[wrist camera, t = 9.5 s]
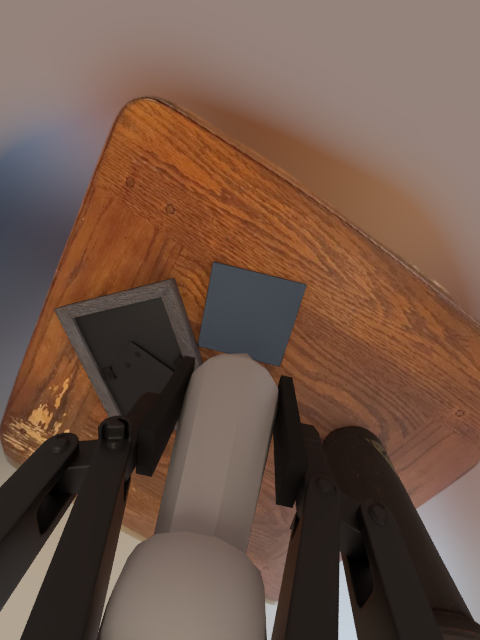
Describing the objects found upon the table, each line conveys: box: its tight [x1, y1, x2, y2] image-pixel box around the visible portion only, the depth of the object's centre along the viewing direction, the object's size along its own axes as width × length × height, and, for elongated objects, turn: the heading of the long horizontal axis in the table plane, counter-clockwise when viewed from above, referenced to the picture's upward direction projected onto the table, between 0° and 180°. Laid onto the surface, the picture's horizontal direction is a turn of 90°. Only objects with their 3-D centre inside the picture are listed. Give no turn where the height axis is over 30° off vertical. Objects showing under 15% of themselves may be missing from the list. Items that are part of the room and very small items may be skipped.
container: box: [323, 427, 480, 640], centre depth 26 cm, size 9×9×20 cm
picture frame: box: [54, 278, 203, 431], centre depth 33 cm, size 16×2×21 cm
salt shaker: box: [96, 353, 278, 640], centre depth 11 cm, size 6×6×13 cm
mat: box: [198, 262, 306, 366], centre depth 30 cm, size 11×11×1 cm
